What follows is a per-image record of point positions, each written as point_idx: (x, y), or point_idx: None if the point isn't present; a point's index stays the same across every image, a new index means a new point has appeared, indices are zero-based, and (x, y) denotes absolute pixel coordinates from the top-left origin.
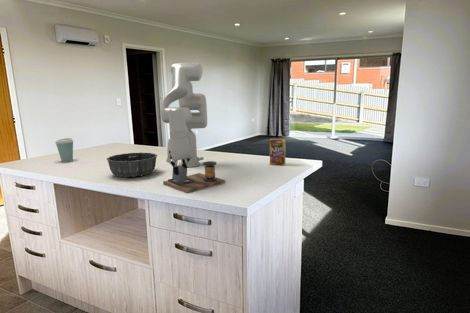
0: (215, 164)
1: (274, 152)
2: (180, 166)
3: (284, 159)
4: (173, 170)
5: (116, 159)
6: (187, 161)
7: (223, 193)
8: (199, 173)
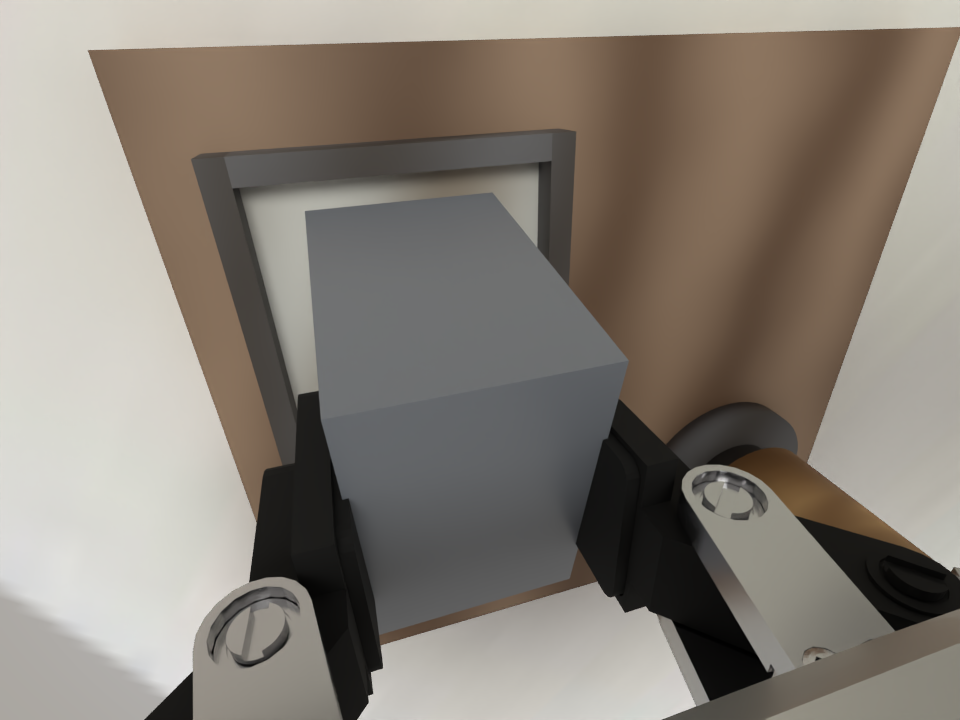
0: None
1: None
2: (552, 457)
3: None
4: (262, 508)
5: None
6: (762, 666)
7: (544, 702)
8: (931, 58)
